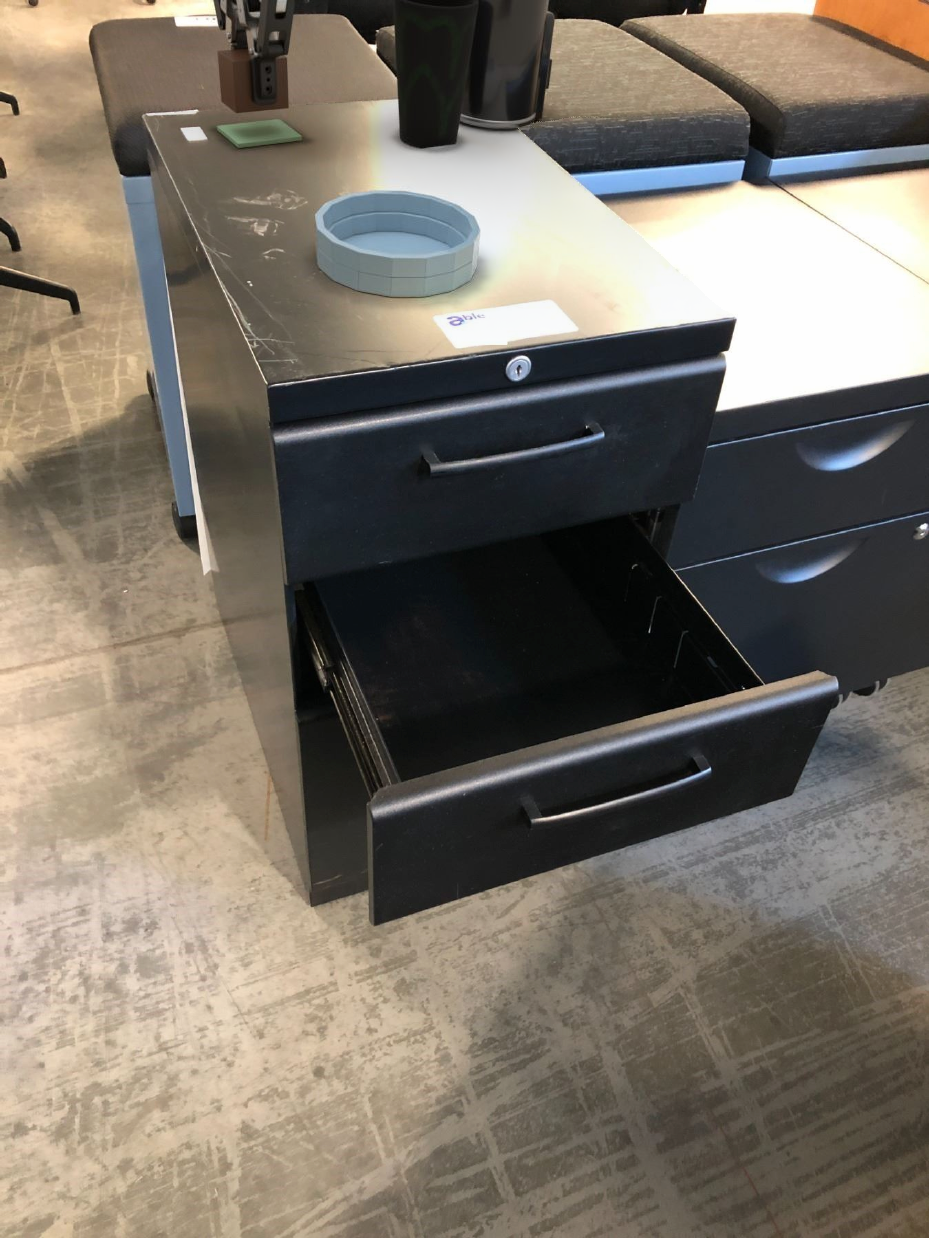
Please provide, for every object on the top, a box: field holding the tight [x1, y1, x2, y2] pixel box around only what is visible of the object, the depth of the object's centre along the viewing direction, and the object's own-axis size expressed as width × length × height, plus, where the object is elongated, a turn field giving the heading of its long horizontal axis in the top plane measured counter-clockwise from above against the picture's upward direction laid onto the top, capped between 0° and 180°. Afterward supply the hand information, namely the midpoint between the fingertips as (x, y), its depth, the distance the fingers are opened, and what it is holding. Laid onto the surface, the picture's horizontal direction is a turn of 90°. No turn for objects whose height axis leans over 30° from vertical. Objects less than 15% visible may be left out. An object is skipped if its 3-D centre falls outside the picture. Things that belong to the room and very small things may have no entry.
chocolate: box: [217, 49, 290, 114], centre depth 88 cm, size 5×3×4 cm, turn 123°
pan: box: [314, 189, 481, 298], centre depth 72 cm, size 12×12×4 cm
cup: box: [392, 0, 479, 149], centre depth 90 cm, size 8×8×12 cm
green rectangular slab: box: [216, 118, 303, 149], centre depth 91 cm, size 6×5×1 cm
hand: (255, 95), depth 89 cm, fingers closed on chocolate, 3 cm apart
